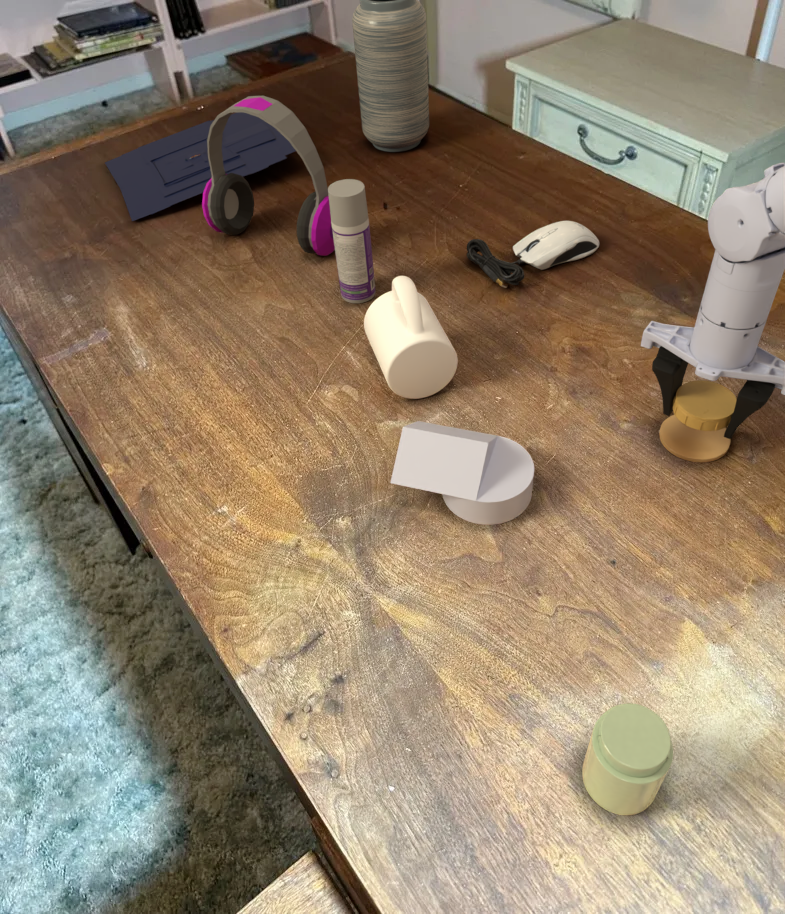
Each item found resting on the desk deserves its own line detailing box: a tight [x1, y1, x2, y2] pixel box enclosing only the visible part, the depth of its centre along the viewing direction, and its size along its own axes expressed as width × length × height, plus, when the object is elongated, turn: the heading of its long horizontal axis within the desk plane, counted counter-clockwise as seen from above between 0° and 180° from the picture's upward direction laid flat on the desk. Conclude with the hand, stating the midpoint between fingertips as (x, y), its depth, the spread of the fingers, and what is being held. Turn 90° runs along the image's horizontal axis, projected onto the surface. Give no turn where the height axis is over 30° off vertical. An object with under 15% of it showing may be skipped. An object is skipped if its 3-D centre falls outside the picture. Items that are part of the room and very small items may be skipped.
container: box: [327, 178, 377, 304], centre depth 97 cm, size 5×5×15 cm
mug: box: [363, 275, 459, 400], centre depth 86 cm, size 8×10×12 cm
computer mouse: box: [466, 220, 600, 289], centre depth 104 cm, size 10×18×4 cm, turn 117°
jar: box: [581, 702, 674, 816], centre depth 54 cm, size 5×5×7 cm
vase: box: [351, 0, 430, 153], centre depth 126 cm, size 12×12×23 cm
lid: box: [672, 379, 737, 431], centre depth 77 cm, size 6×6×2 cm
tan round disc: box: [658, 414, 731, 463], centre depth 80 cm, size 7×7×1 cm
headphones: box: [201, 95, 335, 257], centre depth 106 cm, size 21×9×20 cm, turn 63°
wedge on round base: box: [389, 420, 535, 526], centre depth 75 cm, size 9×7×13 cm
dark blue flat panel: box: [104, 112, 297, 222], centre depth 130 cm, size 24×30×4 cm
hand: (699, 420), depth 78 cm, fingers closed on lid, 6 cm apart
